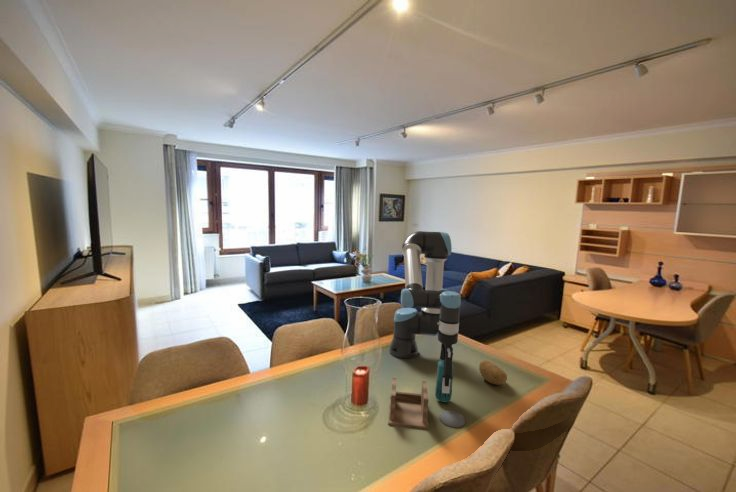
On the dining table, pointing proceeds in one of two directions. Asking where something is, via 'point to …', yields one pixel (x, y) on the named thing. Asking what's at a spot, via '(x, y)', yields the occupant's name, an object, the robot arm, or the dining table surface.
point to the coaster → (452, 419)
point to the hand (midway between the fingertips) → (444, 385)
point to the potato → (492, 372)
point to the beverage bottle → (440, 372)
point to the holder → (408, 408)
